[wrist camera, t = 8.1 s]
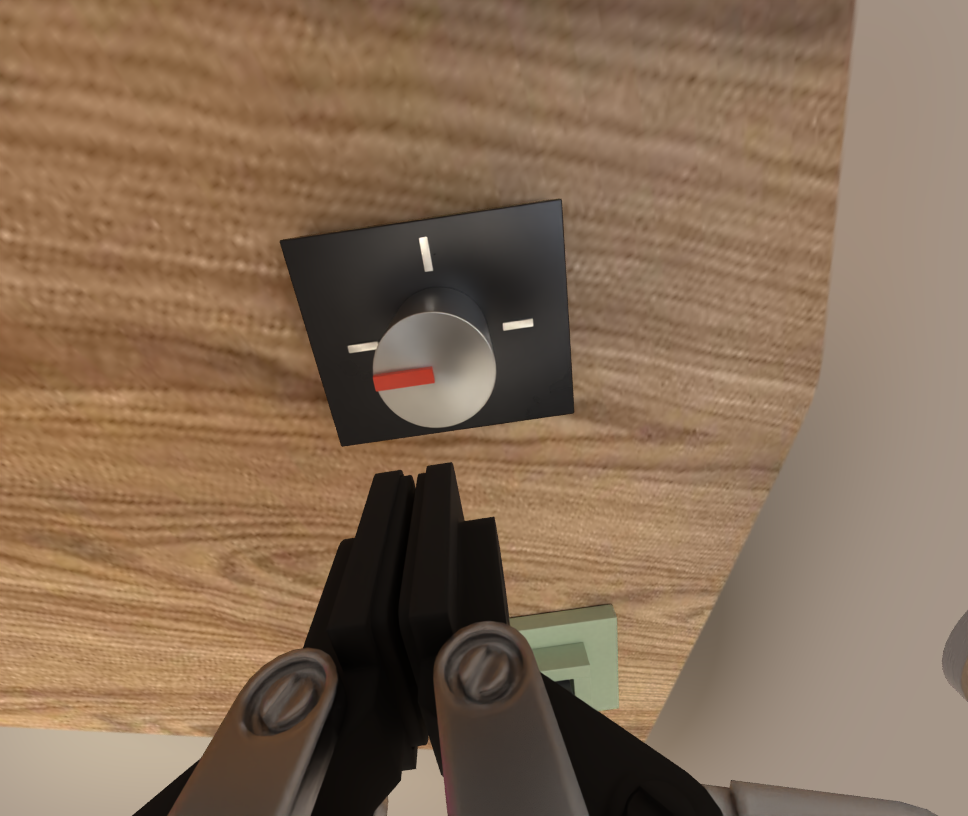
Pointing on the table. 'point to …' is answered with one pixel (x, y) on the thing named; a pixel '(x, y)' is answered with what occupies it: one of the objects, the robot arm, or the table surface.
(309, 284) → the plate
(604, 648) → the square socket base
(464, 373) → the volume knob
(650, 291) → the table surface
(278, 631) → the table surface
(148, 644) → the table surface
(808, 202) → the table surface
